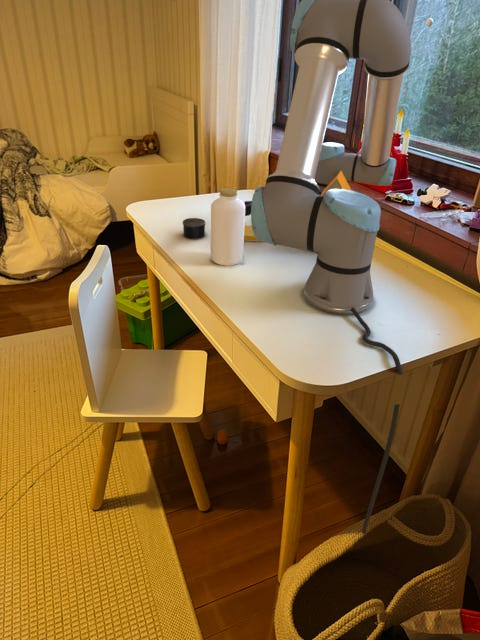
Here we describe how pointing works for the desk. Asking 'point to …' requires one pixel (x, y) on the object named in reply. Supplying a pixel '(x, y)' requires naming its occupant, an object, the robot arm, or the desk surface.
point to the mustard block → (249, 234)
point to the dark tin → (194, 228)
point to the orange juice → (337, 183)
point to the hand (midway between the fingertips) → (250, 221)
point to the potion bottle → (227, 228)
